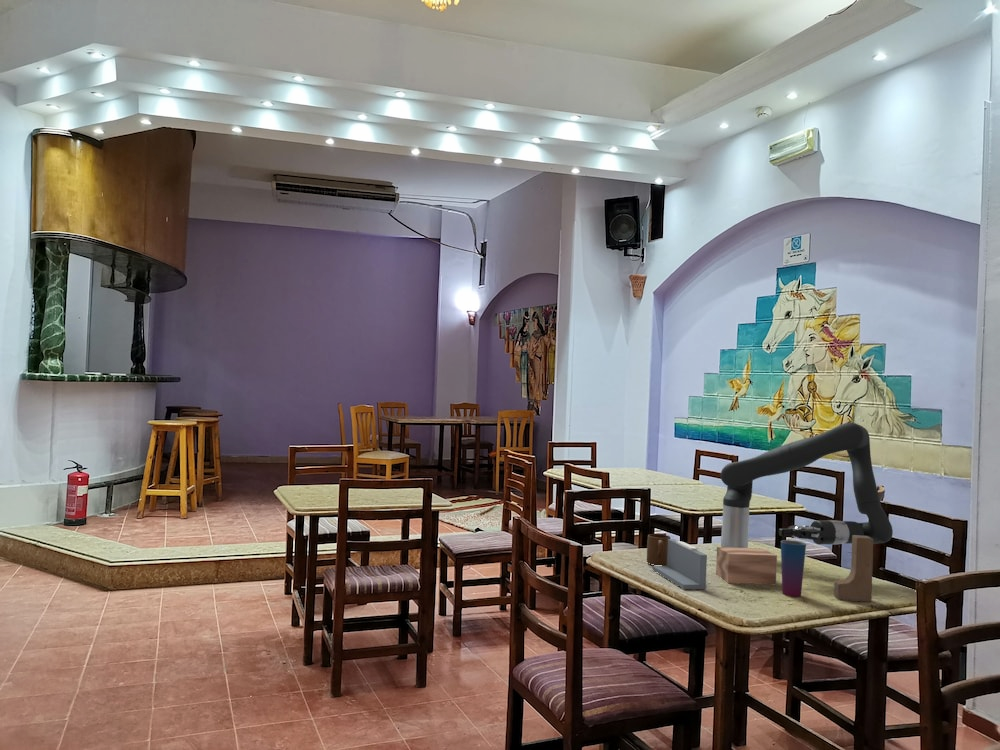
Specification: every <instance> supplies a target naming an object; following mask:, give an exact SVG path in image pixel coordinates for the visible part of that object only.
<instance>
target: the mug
mask: <svg viewBox="0 0 1000 750" xmlns="http://www.w3.org/2000/svg"><path fill="white" fill-rule="evenodd" d="M668 539H671V536H669V535H666V534H662V533H651V534H648V535H647V541H646V543H647V544H646V562H648V563H650V564H654V565H662V566H667V551H668ZM648 563H647V564H648Z"/></svg>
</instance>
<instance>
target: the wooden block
mask: <svg viewBox="0 0 1000 750" xmlns="http://www.w3.org/2000/svg"><path fill="white" fill-rule="evenodd" d="M850 559H851V560H850V561H851V564H850V567H851V568H850V572H849V575H848V576H847V577H846V578H845V579H837V580H836V579H835V580H834V581H833V596H834V597H835V598H836V599H837V600H839V599H841V600H840V601H849V600H851V602H861V601H863V603H865V602H866V603H872V596H873V595H872V594H873V591H872V590H873V565H874V563H873V561H874V560H873V559H874V544H873V539H872V538H870V537H868V536H861V535H852V544H851V558H850Z"/></svg>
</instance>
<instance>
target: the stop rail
mask: <svg viewBox="0 0 1000 750" xmlns="http://www.w3.org/2000/svg"><path fill="white" fill-rule="evenodd" d="M707 560H708V554H706V553H703V552H701V551H699V550H698V549H697V547H695V546H693V545H692V544H689V543H687V542H684V541H679V540H676V539H674V538H672V539H671V538H670V539H668V551H667V566H653V565H651V570H652V569H653V570H654V571H656V572H658V573H659V574H661V575H662V576H664V577H665V578H667V579H669V580H670V581H672V582H673V583H675V584H676V585H678V586H680V587H681V588H682V589H681V588H680V589H681V590H683V589H706V588H707V562H708V561H707ZM654 571H653V572H654ZM659 574H658V575H659ZM662 576H661V577H662ZM665 578H664V579H665ZM667 579H666V580H667ZM670 581H669V582H670ZM673 583H672V584H673ZM675 584H674V585H675ZM676 585H675V586H676ZM678 586H677V587H678Z"/></svg>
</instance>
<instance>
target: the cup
mask: <svg viewBox="0 0 1000 750" xmlns="http://www.w3.org/2000/svg"><path fill="white" fill-rule="evenodd" d="M806 548H807V544H806V542H803V541H799V540H792V539H791V540H789V539H785V540H781V541H780V554H781V555H780V560H781V561H780V562H781V590H782V591H781V592H782V595H784V596H787V597H791V598H792V597H793V598H799V597H801V596H802V589H803V579H804V569H805V568H804V567H805V560H806V558H805V557H806V550H807V549H806Z"/></svg>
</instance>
